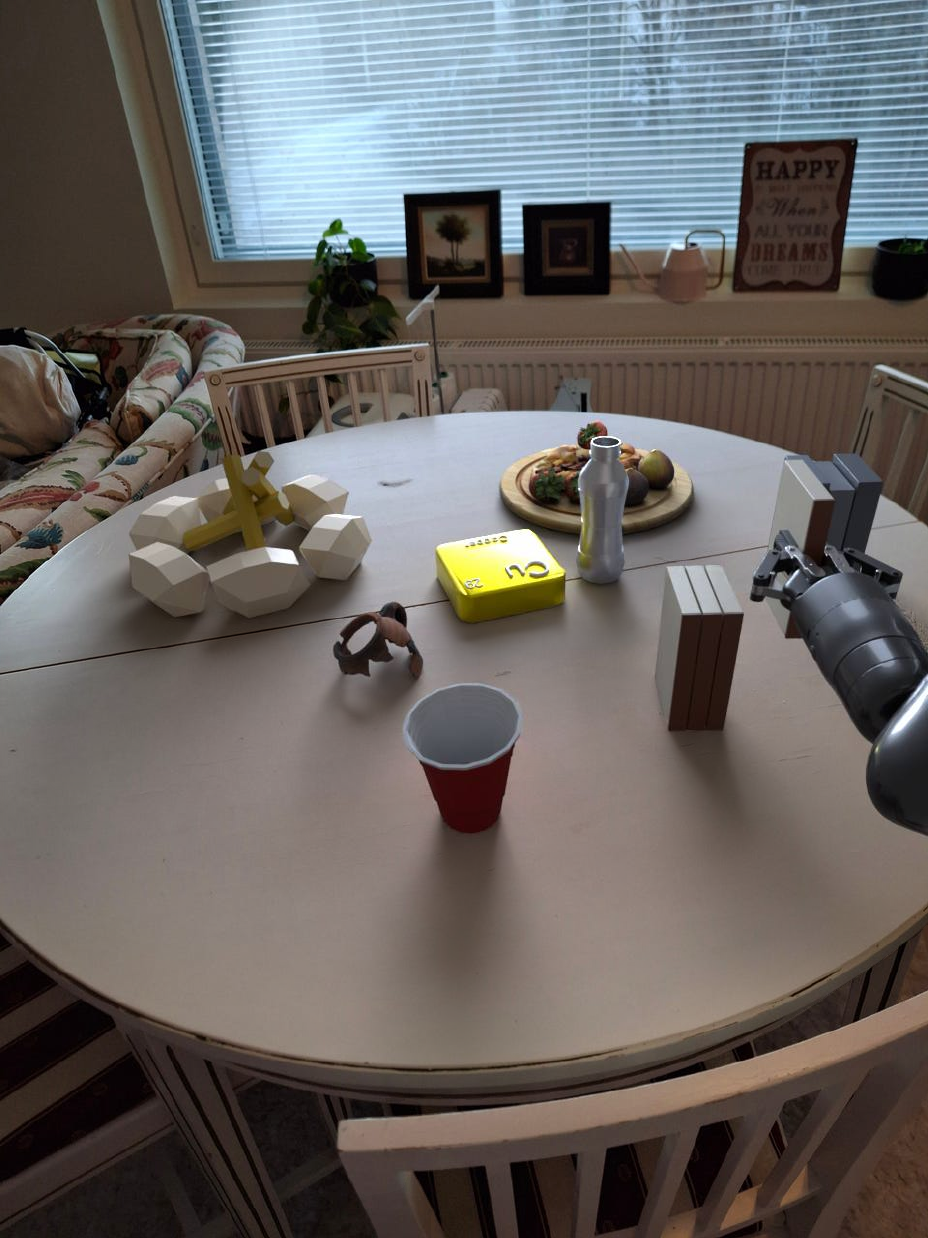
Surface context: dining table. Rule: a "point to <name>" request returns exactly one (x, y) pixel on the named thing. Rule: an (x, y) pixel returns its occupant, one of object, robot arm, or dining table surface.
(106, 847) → the dining table surface
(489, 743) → the plastic cup
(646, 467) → the wooden plate
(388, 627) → the brown looped sculpture
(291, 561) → the campfire
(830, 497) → the cream book
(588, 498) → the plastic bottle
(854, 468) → the grey books
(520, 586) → the element tile
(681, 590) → the white books
